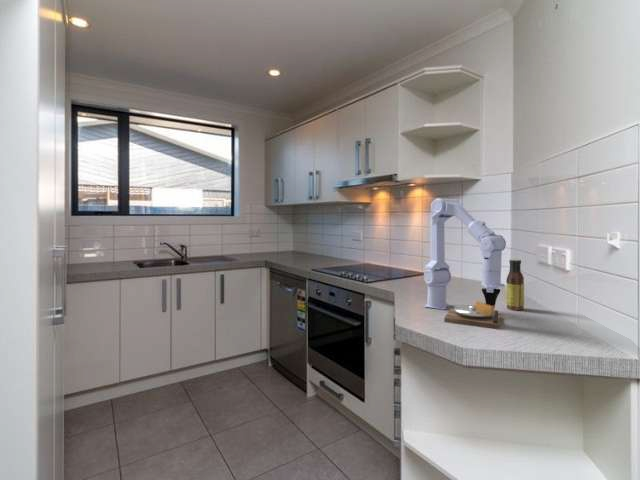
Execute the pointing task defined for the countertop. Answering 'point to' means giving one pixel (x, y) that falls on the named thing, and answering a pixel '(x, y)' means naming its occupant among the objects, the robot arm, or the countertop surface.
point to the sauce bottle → (515, 286)
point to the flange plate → (475, 310)
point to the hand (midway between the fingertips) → (490, 309)
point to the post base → (474, 319)
